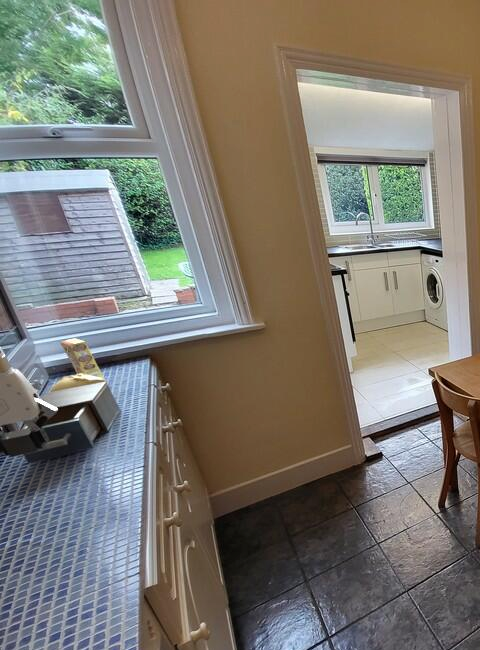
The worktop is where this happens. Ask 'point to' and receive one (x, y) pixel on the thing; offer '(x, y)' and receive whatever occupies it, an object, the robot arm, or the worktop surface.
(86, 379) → the sculpture
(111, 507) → the worktop surface
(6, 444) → the block
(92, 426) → the drawer
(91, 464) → the worktop surface
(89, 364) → the candy box
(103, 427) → the cabinet
